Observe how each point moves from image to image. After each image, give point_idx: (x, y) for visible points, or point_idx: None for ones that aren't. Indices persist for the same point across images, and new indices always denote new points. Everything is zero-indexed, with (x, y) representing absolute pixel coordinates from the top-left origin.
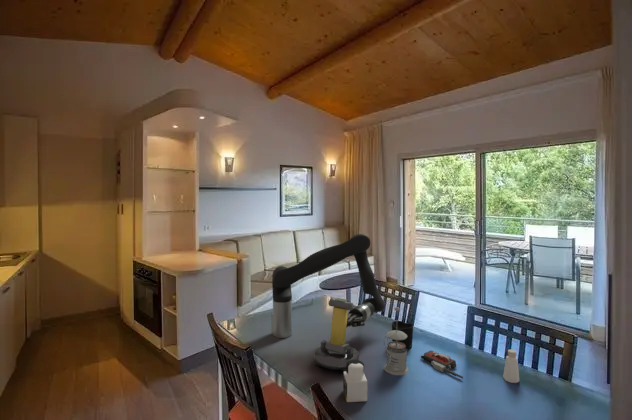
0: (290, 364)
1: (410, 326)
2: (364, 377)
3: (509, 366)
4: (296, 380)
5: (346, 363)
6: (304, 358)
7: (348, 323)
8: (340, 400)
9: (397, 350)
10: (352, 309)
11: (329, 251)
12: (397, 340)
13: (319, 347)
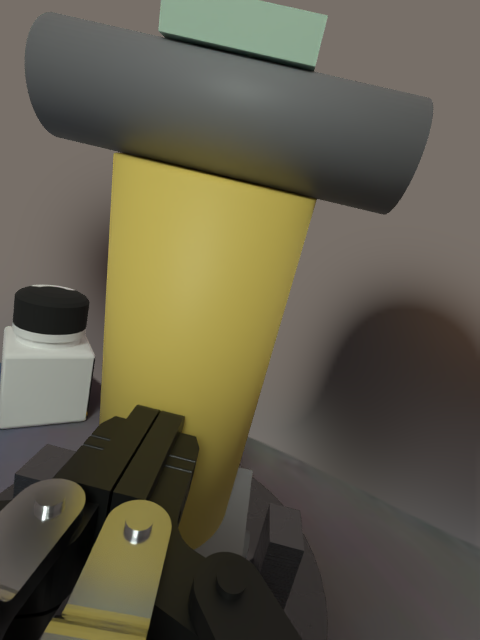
0: (374, 539)
1: None
2: (12, 332)
3: None
4: (266, 449)
5: (88, 302)
6: (377, 631)
7: (62, 473)
8: (95, 392)
9: None
10: (43, 123)
11: None
12: None
13: (325, 618)
